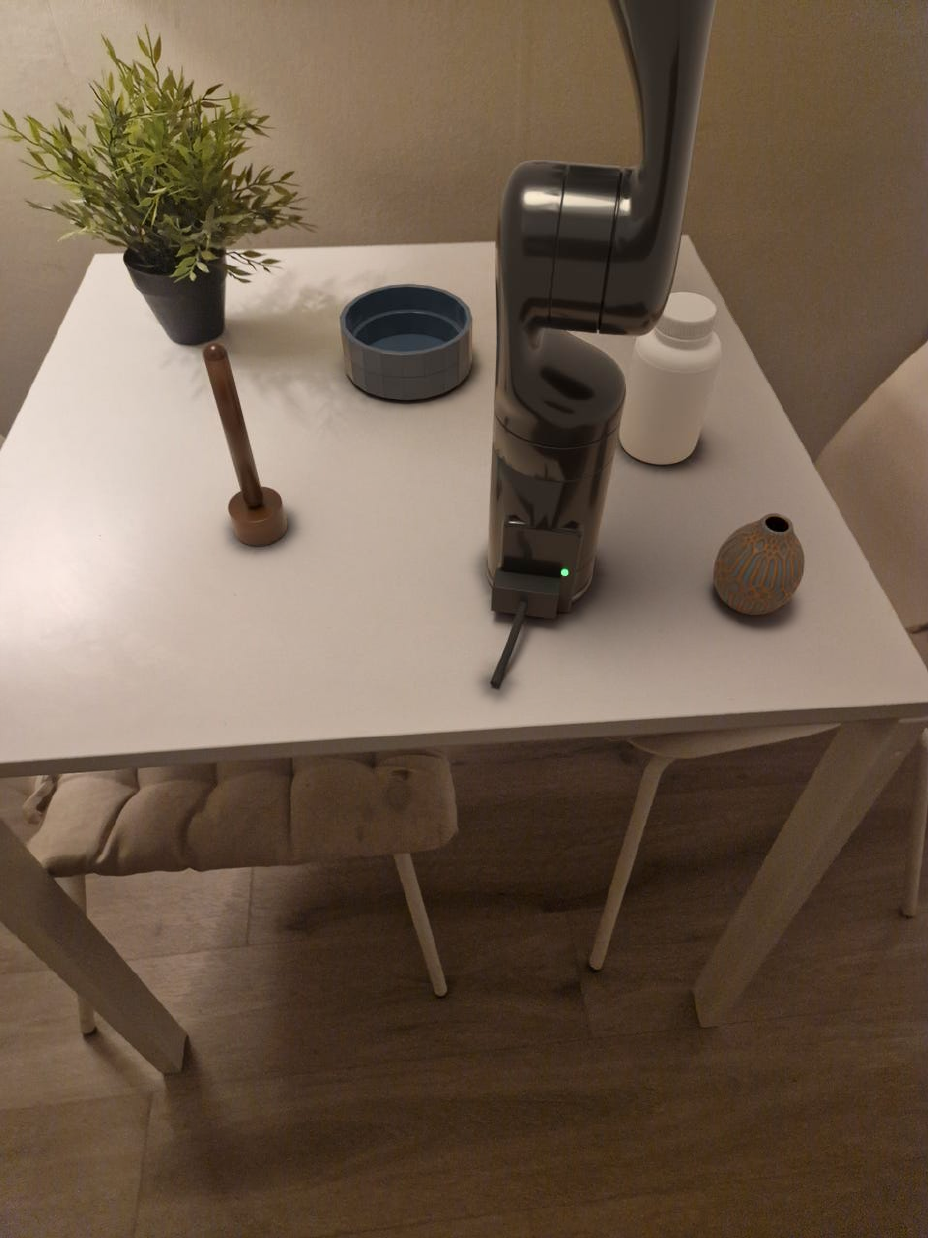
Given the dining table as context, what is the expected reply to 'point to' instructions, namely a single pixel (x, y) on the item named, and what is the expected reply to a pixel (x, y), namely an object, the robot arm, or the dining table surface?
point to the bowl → (407, 341)
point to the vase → (759, 566)
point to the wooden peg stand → (243, 460)
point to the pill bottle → (671, 381)
